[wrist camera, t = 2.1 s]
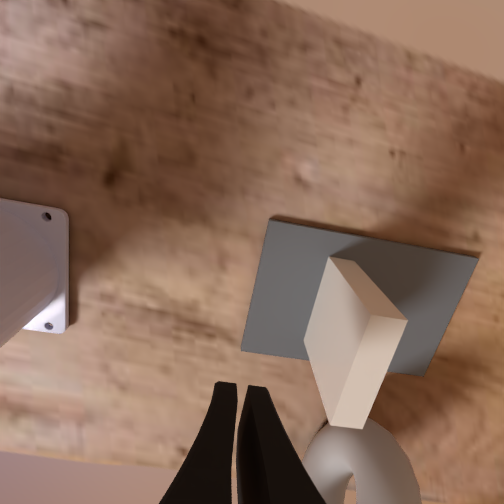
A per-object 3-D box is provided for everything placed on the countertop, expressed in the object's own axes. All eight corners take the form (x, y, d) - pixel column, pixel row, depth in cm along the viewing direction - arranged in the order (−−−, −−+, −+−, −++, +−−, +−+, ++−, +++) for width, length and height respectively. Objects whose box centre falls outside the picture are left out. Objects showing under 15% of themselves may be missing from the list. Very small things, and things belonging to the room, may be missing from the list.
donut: (346, 376, 23) (422, 548, 13) (385, 393, 23) (483, 567, 14) (276, 466, 25) (297, 659, 16) (312, 478, 26) (353, 671, 17)
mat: (240, 347, 21) (240, 351, 21) (269, 218, 18) (269, 220, 18) (420, 372, 23) (423, 376, 22) (474, 256, 20) (479, 258, 19)
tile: (303, 340, 21) (329, 425, 15) (328, 256, 19) (371, 314, 13) (327, 343, 21) (362, 429, 15) (354, 260, 19) (408, 320, 13)
